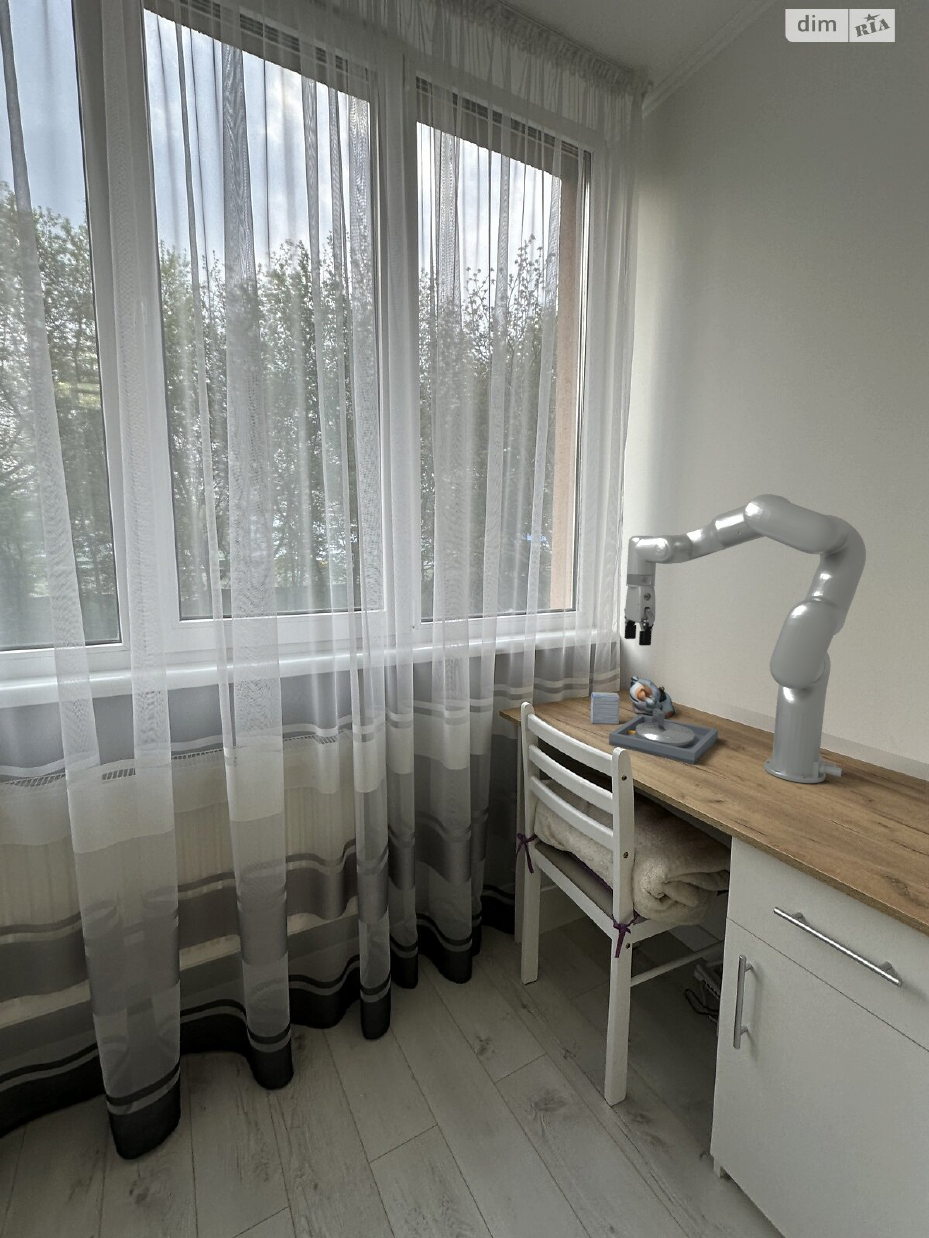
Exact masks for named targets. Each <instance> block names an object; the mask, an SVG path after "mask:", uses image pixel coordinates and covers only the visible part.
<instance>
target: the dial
mask: <svg viewBox="0 0 929 1238" xmlns="http://www.w3.org/2000/svg"><path fill="white" fill-rule="evenodd" d="M652 717H653V719H652V722H645V723H641V724H638V725H637V726H636V734H635V735H636V737H637V738H639V739H644V740H648V741H653V742H657V743H662V744H666V745H671V746H675V747H679V748H681V747H687V746H690V745H692V744H693V743H694V732H693V731H692V730H691V729H689V728H687V727H684V726H681V725H678V724H673V723H667V722H664V719H666V718H665V713H664V712H662V711H661V710H660V709H653V715H652Z"/></svg>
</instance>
